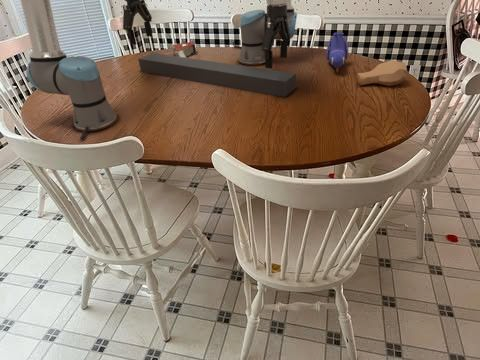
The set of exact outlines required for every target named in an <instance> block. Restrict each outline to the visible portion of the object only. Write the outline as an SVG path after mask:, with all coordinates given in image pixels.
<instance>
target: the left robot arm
mask: <svg viewBox="0 0 480 360" xmlns="http://www.w3.org/2000/svg"><path fill="white" fill-rule="evenodd" d="M124 1H125V2H126V3H127V4H125V5H122V11H123V14H122V15H123V16H122V17H123V18H122V29H123V31H126V32H127V35H128V38H129V44H130V46H131V45H132V46H136V45H137V40H136V35H135V31H134V29H133V26H134V20H135V17H136V15H137V14H139V16H140V17H141V18H142V19H143V25H144V29H145V30H144V31H145V34H146V37H149V38H150V37H153V33H152V27H151V22H152V19H153V16H152V15H151V12H150V10H149V8H148V6H147V5H146V1H145V0H124ZM20 4H21V7H22V12H23V16H24V19H25V23H26V27H27V32H28V35H29V39H30V43H31V48H32V51H31V53H30V54H29V62H28V63H27V67H26V70H25V72H26V77H27V79H28V81H29V83H30V84H31V86H32V87H33V88H34V89H36V90H38V91H40V92H43V93H47V94H55V95H62V96H69V99H70V101H71V104H72V108H73V114H72V117H73V118H72V119H73V125H74V128H75V129H76V131H78V132H82V134H81V136H80V138H79V139H80V140H81V141H83V140H84V139H85V137H86V134H87V133H92V132H99V131H102V130H105V129H107V128H110V127H111V126H113V125H115V124H116V122H117V121H118V116H117V113H116V111H115V110H114V108H113V107H112V105H111V103H110V102H109V101H108V99H107V96H106V92H105V89H104V85H103V81H102V77H101V73H100V71H99V69H98V66H97V64H96V62H95V60H93V59H92V58H90V57H87V56H82V55H77V56H75V55H73V56H67V53H66V52H65V51H63V50H62V49H61V46H60V41H59V36H58V32H57V29H56V22H55V18H54V13H53V8H52V5H51V0H20Z"/></svg>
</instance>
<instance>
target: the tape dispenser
mask: <svg viewBox="0 0 480 360" xmlns="http://www.w3.org/2000/svg"><path fill="white" fill-rule="evenodd" d="M170 46H171V51H172V53H173V56H178V57H185V58H188V56H191V55H194V54H196V53H197V52H196V44H195V42H194V41H188V42H182V43H181V42H180V43H175V44H171V45H170Z"/></svg>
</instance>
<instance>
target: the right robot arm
mask: <svg viewBox="0 0 480 360" xmlns="http://www.w3.org/2000/svg"><path fill="white" fill-rule="evenodd" d="M266 4H267V5H266V11H265V10H264V9H254V10H249V11H247V12H244V13H243V14H241V16H240V35H241V46H237V45H235V41H233V42H232V46H233V47H234V48H236V49H240V52H239V56H238V62H239V64H240V65H242V66H261V65H264V66H265V67H264V69H273V50H272V49H273V46H274V42H275V40H279V41H280V43H279V45H280V47H279V48H280V49H279V50H280V51H279V57H280V58H282V59H287V58H288V42H289V41H291V40H292V39H293V38H294V36H295V30H296V24H297V17H298V13H297V12H296V11H295V6H293V5H292V0H266Z"/></svg>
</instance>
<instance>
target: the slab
mask: <svg viewBox="0 0 480 360" xmlns="http://www.w3.org/2000/svg"><path fill="white" fill-rule="evenodd" d="M137 60H138V64H139V69H140V72H141V73H147V74H153V75H158V76H165V77H168V78H169V77H170V78H175V79H182V80H187V81H193V82H198V83H203V84H210V85H216V86H221V87H226V88H232V89H237V90H244V91H248V92H255V93H260V94H267V95H271V96H277V97H282V98H283V97H284V98H286V97H287V96H289V94H290V93H291V92H294V90H295V89H296V84H297V83H296V82H297V73H295V72H289V71H281V70H274V69H270V68H261V67H253V66H249V65H242V64H235V63H234V64H233V63H227V62H219V61H213V60H204V59H200V58H199V59H198V58H192V57H191V58H190V57H187V58H185V57H178V56H176V55H171V54H165V53H164V54H163V53H157V52H151V53H149V54H145V55H144V56H141V57H139V58H138V59H137Z"/></svg>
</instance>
